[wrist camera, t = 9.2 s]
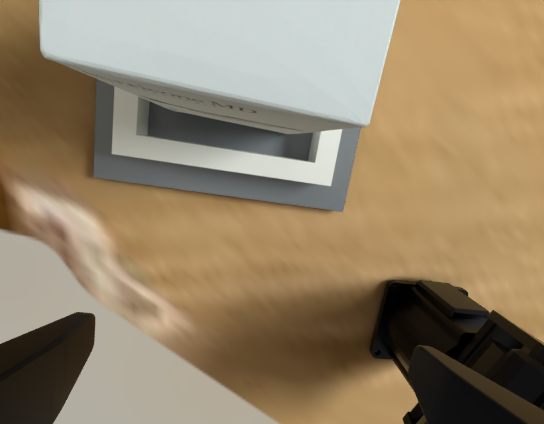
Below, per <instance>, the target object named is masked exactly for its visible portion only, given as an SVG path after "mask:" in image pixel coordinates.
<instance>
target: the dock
mask: <svg viewBox="0 0 544 424" xmlns="http://www.w3.org/2000/svg"><path fill="white" fill-rule="evenodd" d="M360 129H361V127H358V128H348V129H338V130H328V131H321V132H312V133H300V134H284V133H280V132H275V131H271V130H266V129H261V128H256V127H251V126H246V125H241V124H236V123H231V122H226V121H221V120H217V119H212V118H207V117H202V116H197V115H193V114H187V113H182V112H175V111H172V110H169V109H167V108H164V107H162V106H160V105H157V104H155V103H152V102H150V101H148V100H145V99H143V98H141V97H138V96H136V95H134V94H132V93H129V92H127V91H124V90H122V89H120V88H117V87H115V86H113V85H110V84H108V83H105V82H103V81H100V80H98V79H96V107H95V141H94V175H93V177H94V178H101V179H108V180H116V181H123V182H130V183H137V184H145V185H152V186H159V187H166V188H174V189H181V190H188V191H195V192H203V193H210V194H217V195H224V196H232V197H239V198H246V199H254V200H261V201H268V202H275V203H283V204H290V205H297V206H304V207H312V208H319V209H326V210H333V211H341V212H343V209H344V204H345V199H346V195H347V190H348V185H349V181H350V176H351V171H352V167H353V162H354V157H355V153H356V148H357V143H358V139H359V134H360Z"/></svg>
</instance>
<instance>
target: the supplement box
mask: <svg viewBox="0 0 544 424" xmlns="http://www.w3.org/2000/svg"><path fill="white" fill-rule="evenodd" d="M399 4H400V0H39V36H40V51H41V54H42V55H43V56H44V58H46V59H48V60H51V61H54V62H57V63H60V64H62V65H65V66H67V67H69V68H72V69H74V70H76V71H79V72H81V73H84V74H86V75H88V76H91V77H93V78H96V79H98V80H100V81H103V82H105V83H108V84H110V85H113V86H115V87H117V88H120V89H122V90H124V91H127V92H129V93H132V94H134V95H136V96H138V97H141V98H143V99H145V100H148V101H150V102H152V103H155V104H157V105H160V106H162V107H164V108H167V109H169V110H172V111H175V112H182V113H187V114H193V115H197V116H202V117H207V118H212V119H217V120H221V121H226V122H231V123H236V124H241V125H246V126H251V127H256V128H261V129H266V130H271V131H275V132H280V133H284V134H300V133H312V132H321V131H328V130H338V129H348V128H358V127H366V126H367V125H369V124H370V120H371V115H372V110H373V107H374V103H375V99H376V95H377V91H378V87H379V83H380V79H381V75H382V71H383V67H384V63H385V59H386V55H387V51H388V47H389V43H390V39H391V35H392V31H393V27H394V23H395V20H396V16H397V12H398V8H399Z"/></svg>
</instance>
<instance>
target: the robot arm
mask: <svg viewBox="0 0 544 424" xmlns="http://www.w3.org/2000/svg"><path fill="white" fill-rule="evenodd" d="M395 285H396V287H395V288H394V289H392V287H393V286H395ZM94 335H95V316H94V314H92V313H83V312H76V313H74V314H71V315H69V316H66V317H64V318H62V319H59V320H57V321H54V322H52V323H50V324H47V325H45V326H42V327H40V328H38V329H35V330H33V331H30V332H28V333H26V334H23V335H21V336H18V337H16V338H14V339H11V340H9V341H6V342H4V343H2V344H0V424H53V422H54V421H55V419H56V418H57V416H58V414H59V413H60V411H61V409H62V407H63V406H64V404H65V402H66V400H67V398H68V396H69V394H70V392H71V390H72V388H73V386H74V384H75V383H76V380H77V378H78V377H79V375H80V373H81V371H82V369H83V367H84V365H85V363H86V361H87V359H88V357H89V355H90V353H91V351H92V349H93V346H94V337H95V336H94ZM376 350H378V351H377V352H375V351H376ZM370 353H371V354H372V356H373V357H374V358H381V359H393V361H394V362H395V364H396V365H397V367H398V368H399V370H400V371H401V373H402V374H403V376H404V377H405V379H406V380H407V382H408V383H409V385H410V386H411V387H412V389H413V390H414V392H415V394H416V397H417V399H418V401H419V402H418V403H417V405H416V406H415V407H414V408H413V409H412V411H411V412H407V413H406V415H405V416H404V417H403V421H404V424H544V343H543V342H542V341H540V340H538V339H537V338H535V337H534V336H532V335H531V334H529V333H528V332H526V331H525V330H523V329H522V328H520V327H519V326H517V325H515V324H514V323H512V322H511V321H509V320H508V319H506V318H505V317H503V316H502V315H500V314H499V313H497V312H496V311H494V310H492V312H491V313H489V311H488V310H486V309H485V308H483V307H482V306H481V305H479V304H478V303H476V302H475V301H473V300H472V299H471V298H469V297H468V292H467V291H466V290H464V289H463V288H461V287H453V286H452V285H450V284H449V283H441V282H432V281H423V280H419V281H417V282H407V281H398V280H391V281H389V282H388V283H387V285H386V288H385V292H384V296H383V300H382V303H381V307H380V311H379V315H378V319H377V323H376V327H375V330H374V334H373V338H372V342H371V346H370Z"/></svg>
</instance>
